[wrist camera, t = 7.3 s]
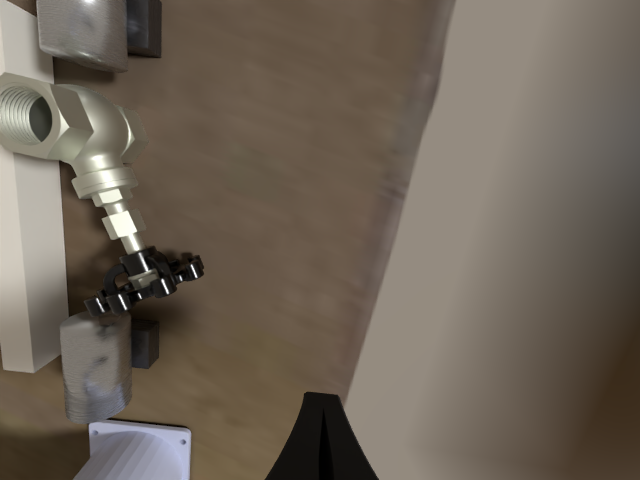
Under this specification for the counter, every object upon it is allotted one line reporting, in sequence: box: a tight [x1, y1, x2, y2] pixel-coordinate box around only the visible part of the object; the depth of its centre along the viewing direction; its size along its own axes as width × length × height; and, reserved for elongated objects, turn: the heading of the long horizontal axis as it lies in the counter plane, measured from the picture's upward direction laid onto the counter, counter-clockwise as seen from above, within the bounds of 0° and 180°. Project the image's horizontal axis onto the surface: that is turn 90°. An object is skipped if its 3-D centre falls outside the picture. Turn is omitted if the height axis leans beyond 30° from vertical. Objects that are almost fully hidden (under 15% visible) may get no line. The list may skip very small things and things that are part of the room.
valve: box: [0, 72, 204, 317], centre depth 17 cm, size 7×7×12 cm
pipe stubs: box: [36, 0, 162, 424], centre depth 18 cm, size 27×4×5 cm, turn 173°
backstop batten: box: [0, 0, 69, 373], centre depth 19 cm, size 22×2×3 cm, turn 173°
